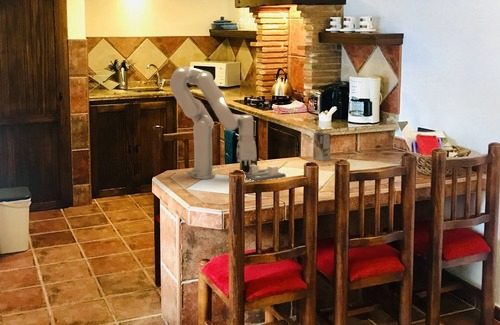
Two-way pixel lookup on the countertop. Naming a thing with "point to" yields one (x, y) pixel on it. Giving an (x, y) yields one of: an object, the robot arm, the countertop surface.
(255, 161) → the ammunition clip
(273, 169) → the tab
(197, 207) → the countertop surface
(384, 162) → the countertop surface
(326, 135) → the coffee box
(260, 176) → the switch bank
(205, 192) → the countertop surface
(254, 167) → the tab
